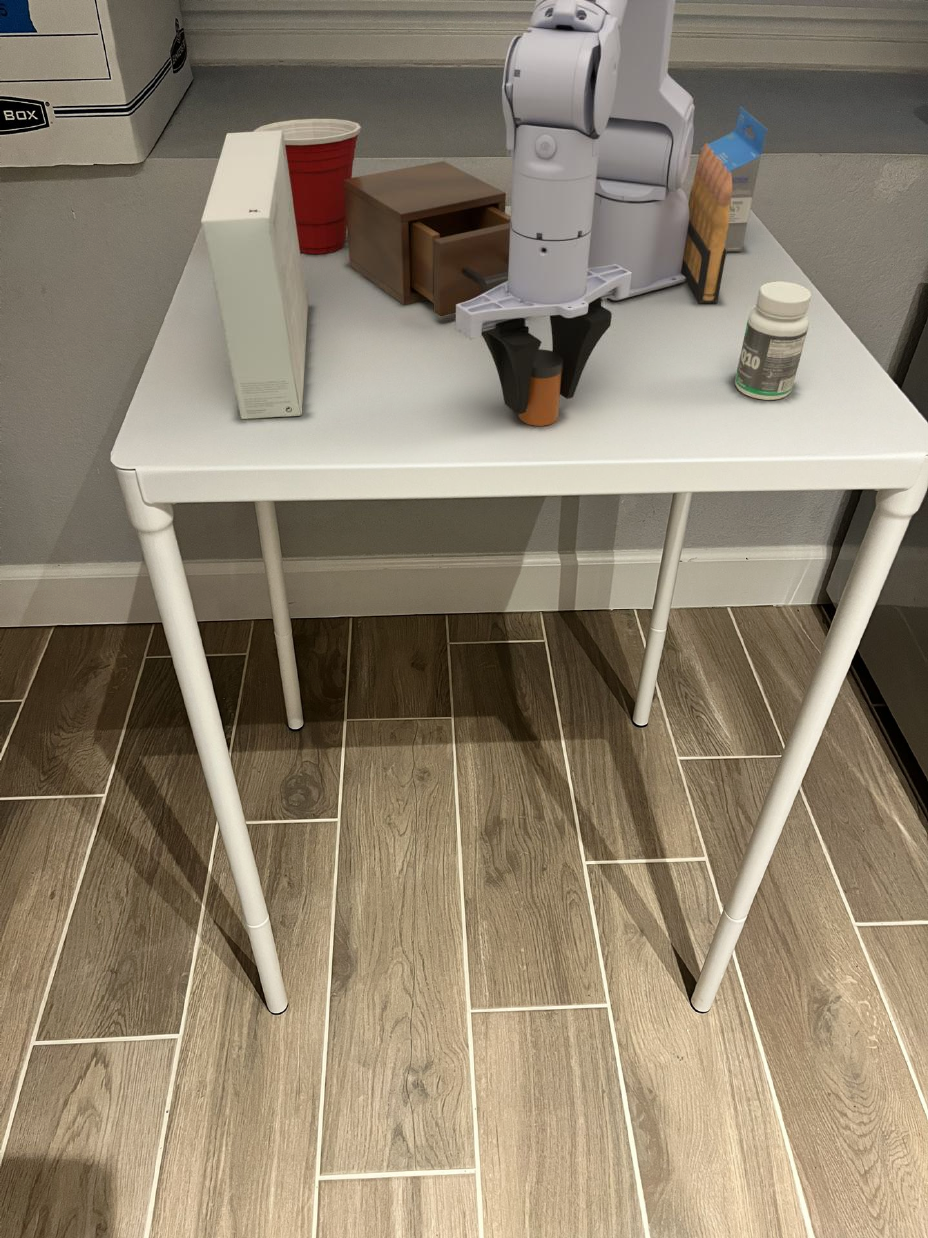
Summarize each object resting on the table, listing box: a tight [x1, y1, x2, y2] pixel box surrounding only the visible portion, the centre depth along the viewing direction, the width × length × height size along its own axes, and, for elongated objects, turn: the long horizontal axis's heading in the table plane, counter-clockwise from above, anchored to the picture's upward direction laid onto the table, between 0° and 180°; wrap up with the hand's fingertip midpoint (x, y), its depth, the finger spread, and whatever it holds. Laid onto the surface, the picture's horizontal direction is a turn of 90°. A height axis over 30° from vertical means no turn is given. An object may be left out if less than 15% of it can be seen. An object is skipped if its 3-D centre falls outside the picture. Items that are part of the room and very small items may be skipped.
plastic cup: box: [253, 118, 362, 255], centre depth 101 cm, size 11×11×12 cm
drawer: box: [408, 205, 511, 318], centre depth 91 cm, size 15×10×7 cm
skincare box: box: [200, 130, 309, 420], centre depth 79 cm, size 21×5×16 cm, turn 5°
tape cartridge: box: [697, 106, 769, 254], centre depth 103 cm, size 9×4×12 cm, turn 6°
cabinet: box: [344, 160, 507, 306], centre depth 96 cm, size 12×12×9 cm
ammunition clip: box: [681, 142, 732, 304], centre depth 94 cm, size 11×2×12 cm, turn 3°
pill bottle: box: [734, 281, 812, 401], centre depth 79 cm, size 5×5×8 cm
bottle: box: [517, 348, 563, 427], centre depth 76 cm, size 3×3×5 cm
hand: (539, 400), depth 77 cm, fingers open, 4 cm apart
